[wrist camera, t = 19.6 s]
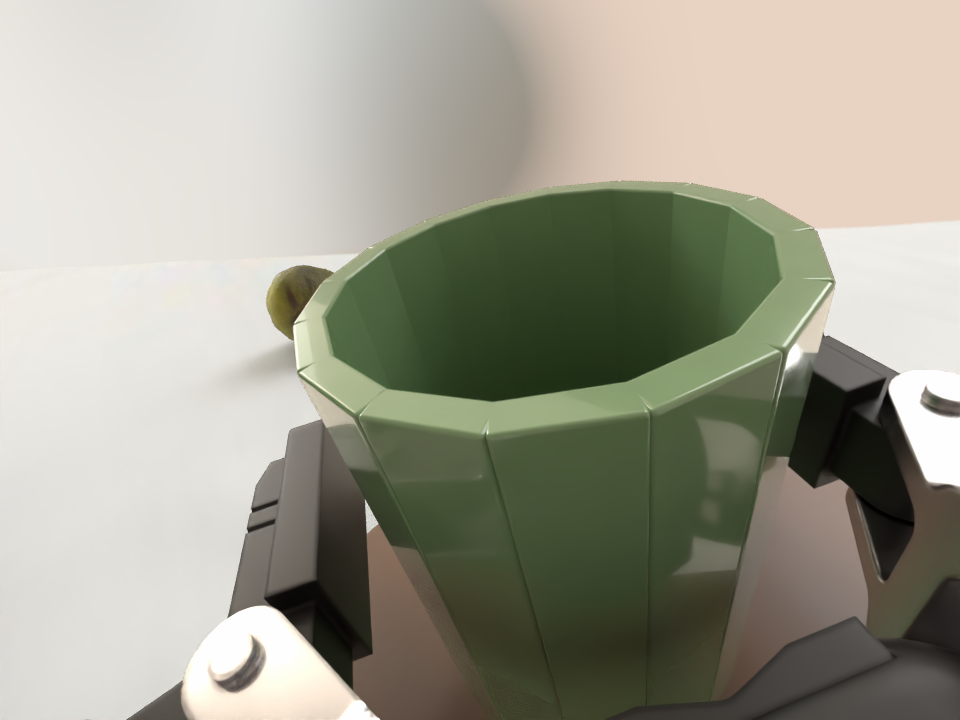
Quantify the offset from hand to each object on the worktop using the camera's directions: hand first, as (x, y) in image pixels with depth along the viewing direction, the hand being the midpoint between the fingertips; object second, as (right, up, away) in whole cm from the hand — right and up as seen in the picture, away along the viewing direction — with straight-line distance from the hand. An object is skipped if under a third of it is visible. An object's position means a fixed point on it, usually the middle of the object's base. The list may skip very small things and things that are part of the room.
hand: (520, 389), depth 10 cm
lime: (-10, +2, +19) cm, 22 cm away
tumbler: (+2, -6, +2) cm, 7 cm away
